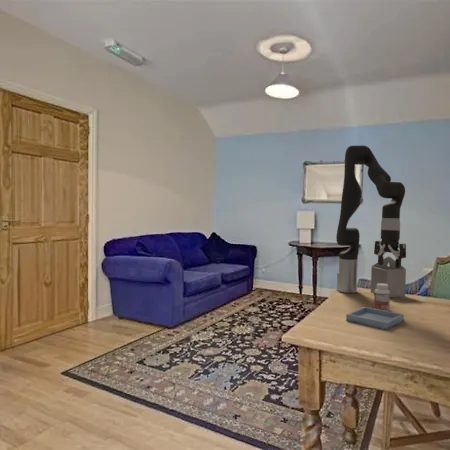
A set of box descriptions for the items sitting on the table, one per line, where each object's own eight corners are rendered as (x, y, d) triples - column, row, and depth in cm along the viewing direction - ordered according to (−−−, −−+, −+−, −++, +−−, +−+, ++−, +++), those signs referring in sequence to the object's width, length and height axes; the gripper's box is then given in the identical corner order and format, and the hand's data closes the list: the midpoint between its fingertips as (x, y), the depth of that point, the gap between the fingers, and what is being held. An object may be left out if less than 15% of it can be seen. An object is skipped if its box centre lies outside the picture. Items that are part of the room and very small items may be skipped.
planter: (367, 295, 195) (368, 256, 194) (370, 292, 202) (372, 255, 201) (403, 299, 187) (404, 259, 186) (405, 296, 193) (406, 257, 192)
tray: (346, 320, 152) (346, 314, 151) (364, 312, 163) (364, 306, 163) (387, 329, 140) (387, 323, 140) (403, 320, 152) (403, 314, 152)
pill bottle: (378, 307, 172) (379, 282, 171) (392, 310, 167) (392, 284, 167) (371, 309, 168) (371, 284, 168) (384, 312, 163) (385, 286, 163)
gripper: (370, 227, 170) (369, 264, 171) (399, 230, 158) (397, 269, 159) (382, 227, 174) (381, 263, 175) (411, 229, 161) (409, 268, 162)
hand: (389, 266), depth 167 cm, fingers open, 8 cm apart
